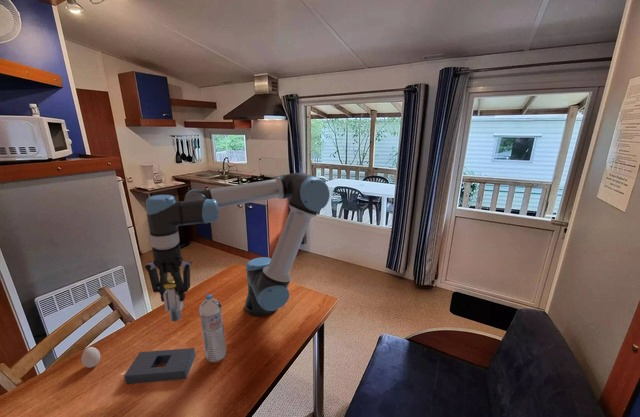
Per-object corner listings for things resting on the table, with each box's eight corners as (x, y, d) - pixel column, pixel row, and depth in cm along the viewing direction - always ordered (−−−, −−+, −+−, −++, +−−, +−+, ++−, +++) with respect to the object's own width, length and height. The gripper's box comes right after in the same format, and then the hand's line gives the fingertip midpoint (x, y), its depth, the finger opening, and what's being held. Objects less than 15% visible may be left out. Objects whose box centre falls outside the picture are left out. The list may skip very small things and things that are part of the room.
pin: (185, 313, 90) (181, 278, 86) (180, 322, 86) (175, 285, 82) (172, 313, 90) (167, 278, 86) (165, 323, 85) (160, 286, 81)
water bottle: (207, 366, 88) (197, 304, 81) (205, 351, 94) (196, 292, 86) (227, 359, 91) (221, 298, 84) (225, 345, 97) (218, 287, 89)
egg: (85, 364, 88) (79, 346, 86) (102, 357, 91) (97, 340, 89) (83, 374, 84) (77, 356, 82) (101, 367, 87) (96, 349, 85)
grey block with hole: (195, 355, 92) (194, 347, 91) (186, 378, 84) (184, 370, 82) (141, 359, 90) (139, 352, 89) (126, 384, 81) (123, 375, 80)
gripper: (197, 240, 85) (203, 301, 91) (145, 239, 83) (154, 302, 90) (188, 250, 77) (195, 315, 84) (130, 250, 76) (142, 317, 82)
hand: (174, 308), depth 87 cm, fingers closed on pin, 3 cm apart
